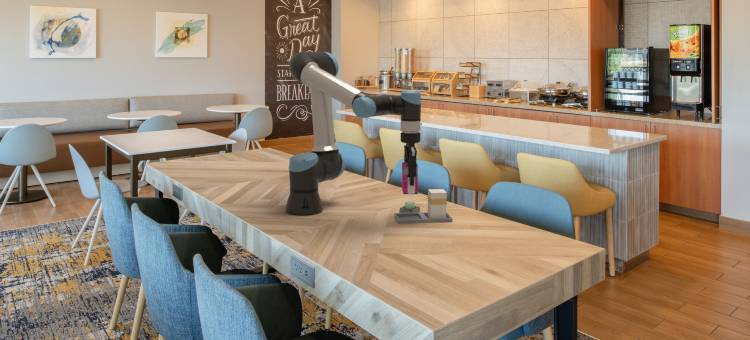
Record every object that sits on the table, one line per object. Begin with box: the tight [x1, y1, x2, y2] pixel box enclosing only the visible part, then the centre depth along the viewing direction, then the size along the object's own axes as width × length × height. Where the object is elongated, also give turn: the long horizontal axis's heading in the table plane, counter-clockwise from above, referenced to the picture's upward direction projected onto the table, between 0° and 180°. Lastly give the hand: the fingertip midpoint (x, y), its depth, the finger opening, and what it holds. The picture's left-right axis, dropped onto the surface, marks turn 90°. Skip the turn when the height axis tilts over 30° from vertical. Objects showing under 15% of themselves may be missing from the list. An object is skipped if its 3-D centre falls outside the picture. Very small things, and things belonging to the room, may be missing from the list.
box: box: [427, 188, 448, 219], centre depth 224 cm, size 6×6×11 cm
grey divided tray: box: [393, 211, 453, 224], centre depth 225 cm, size 21×10×2 cm, turn 97°
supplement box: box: [401, 161, 419, 195], centre depth 221 cm, size 6×6×12 cm
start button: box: [404, 201, 416, 209], centre depth 234 cm, size 4×4×4 cm
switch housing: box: [399, 205, 421, 213], centre depth 234 cm, size 6×6×3 cm
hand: (409, 191), depth 222 cm, fingers closed on supplement box, 6 cm apart
